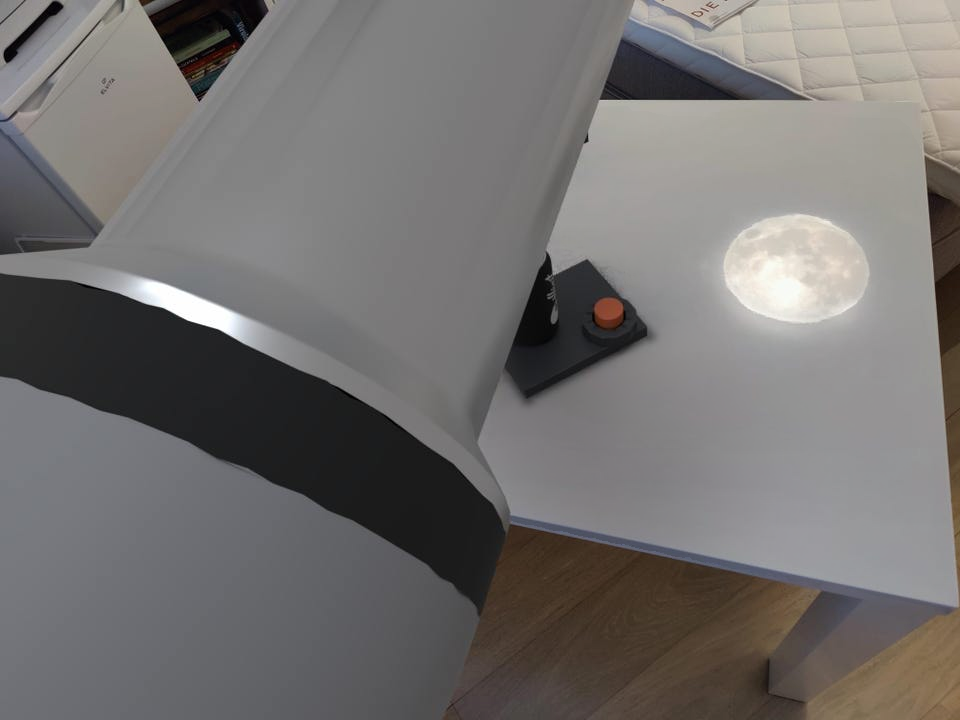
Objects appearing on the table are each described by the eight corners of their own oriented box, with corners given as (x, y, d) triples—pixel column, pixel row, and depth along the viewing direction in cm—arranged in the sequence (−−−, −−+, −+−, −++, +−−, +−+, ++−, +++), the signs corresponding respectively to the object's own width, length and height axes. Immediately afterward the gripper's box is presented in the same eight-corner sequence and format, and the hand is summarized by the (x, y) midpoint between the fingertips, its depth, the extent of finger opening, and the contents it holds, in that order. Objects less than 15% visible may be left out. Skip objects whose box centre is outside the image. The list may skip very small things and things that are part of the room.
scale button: (604, 333, 79) (604, 324, 77) (589, 315, 81) (588, 305, 79) (628, 321, 79) (628, 311, 78) (613, 303, 81) (613, 293, 80)
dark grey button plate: (528, 402, 79) (525, 385, 76) (476, 323, 87) (471, 305, 84) (650, 338, 81) (650, 319, 78) (587, 267, 89) (586, 248, 86)
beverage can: (551, 352, 80) (540, 282, 71) (496, 344, 82) (479, 274, 73) (565, 308, 84) (557, 235, 74) (512, 301, 86) (497, 229, 76)
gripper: (295, -11, 40) (393, 254, 57) (668, -161, 43) (656, 130, 60) (261, -55, 44) (361, 204, 61) (602, -187, 48) (608, 91, 65)
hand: (508, 168), depth 61 cm, fingers open, 13 cm apart
